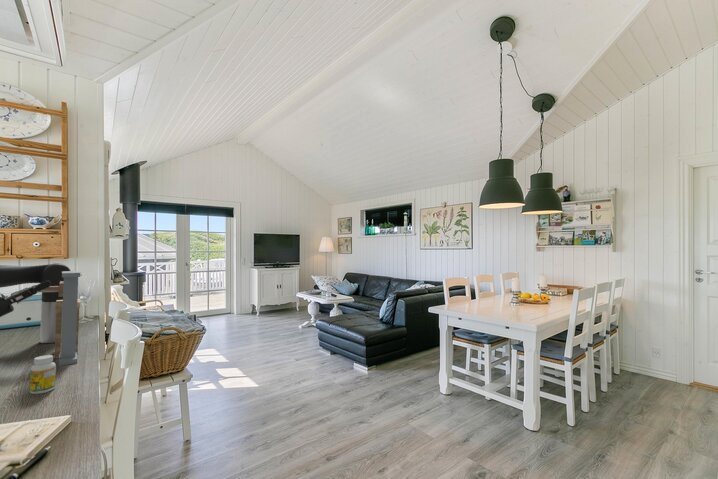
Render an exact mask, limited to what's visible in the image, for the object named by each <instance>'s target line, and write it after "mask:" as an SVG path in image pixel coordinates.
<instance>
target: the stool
mask: <svg viewBox="0 0 718 479" xmlns="http://www.w3.org/2000/svg"><path fill="white" fill-rule="evenodd" d="M80 308H81V299H80V298H78V299H77V326H76V352H77V356H78V354H79V353H78V352H79V329H80V328H79V327H80ZM62 309H63V300H56V330H55V342H54V355H53V359H57V358H58V359H59V354H61V329H62Z"/></svg>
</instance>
